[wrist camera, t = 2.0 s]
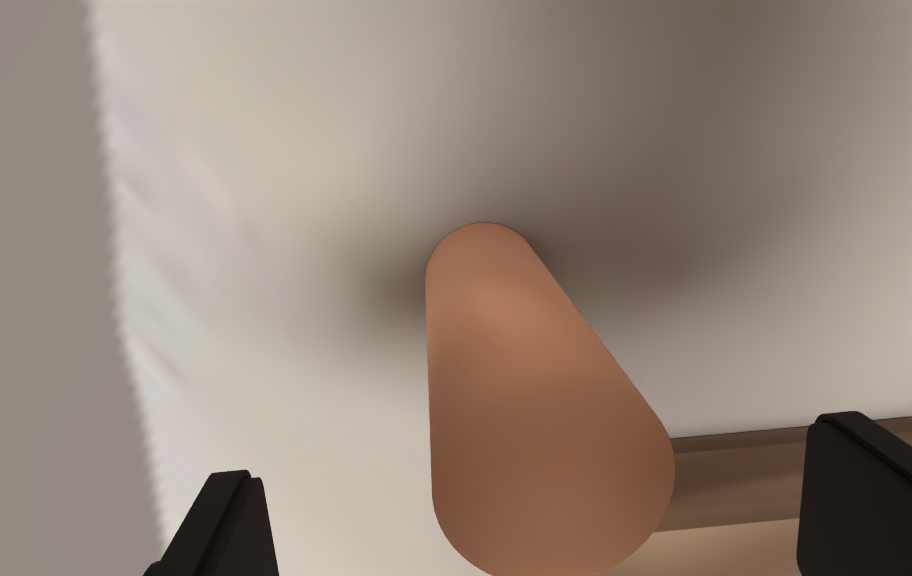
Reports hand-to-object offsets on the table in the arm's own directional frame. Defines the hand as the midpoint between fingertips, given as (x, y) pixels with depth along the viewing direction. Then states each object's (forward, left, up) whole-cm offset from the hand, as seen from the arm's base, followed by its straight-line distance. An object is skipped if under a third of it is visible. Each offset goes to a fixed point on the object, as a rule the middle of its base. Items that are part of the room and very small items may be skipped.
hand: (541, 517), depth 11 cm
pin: (-1, 0, -12) cm, 12 cm away
